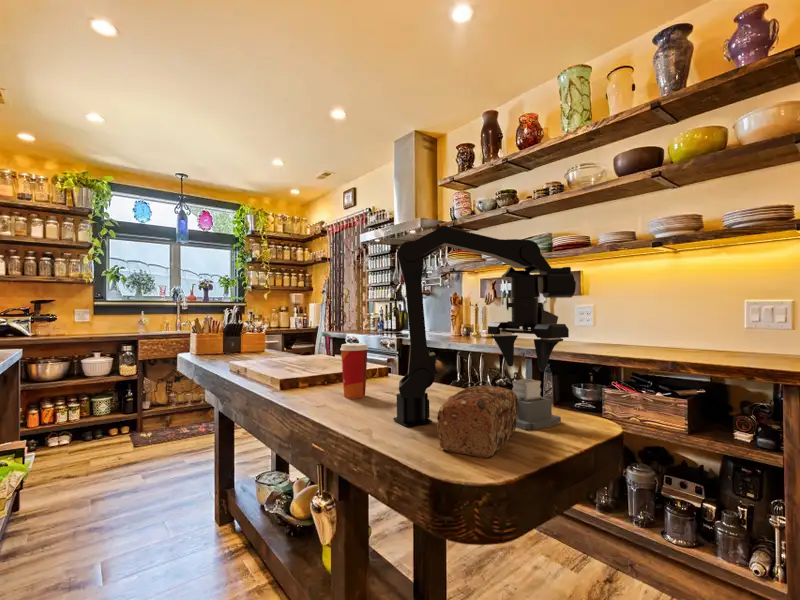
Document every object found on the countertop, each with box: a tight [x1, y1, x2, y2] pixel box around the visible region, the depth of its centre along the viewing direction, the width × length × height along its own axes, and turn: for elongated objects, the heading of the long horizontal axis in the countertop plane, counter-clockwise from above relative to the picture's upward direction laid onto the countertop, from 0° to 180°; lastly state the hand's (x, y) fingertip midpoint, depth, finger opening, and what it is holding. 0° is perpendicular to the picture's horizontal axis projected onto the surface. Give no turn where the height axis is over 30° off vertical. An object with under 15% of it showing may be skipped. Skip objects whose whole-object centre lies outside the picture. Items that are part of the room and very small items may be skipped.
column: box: [511, 378, 542, 402], centre depth 88 cm, size 5×4×8 cm
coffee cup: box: [339, 342, 369, 399], centre depth 115 cm, size 8×8×15 cm
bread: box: [436, 385, 518, 459], centre depth 76 cm, size 19×11×10 cm, turn 150°
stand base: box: [516, 396, 562, 431], centre depth 88 cm, size 11×11×6 cm
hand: (525, 368), depth 89 cm, fingers open, 9 cm apart
